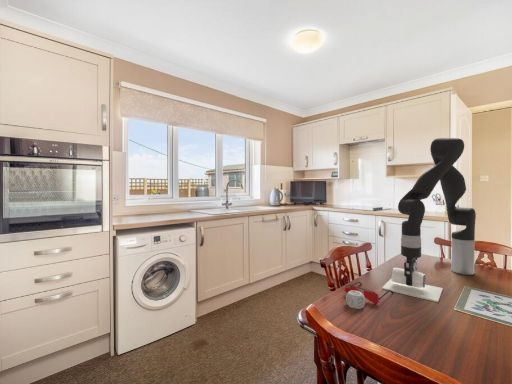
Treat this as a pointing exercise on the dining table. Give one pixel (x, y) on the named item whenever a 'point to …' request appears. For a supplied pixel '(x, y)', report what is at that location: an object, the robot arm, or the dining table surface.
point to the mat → (415, 290)
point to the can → (399, 277)
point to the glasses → (366, 293)
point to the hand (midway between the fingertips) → (410, 283)
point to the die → (355, 299)
